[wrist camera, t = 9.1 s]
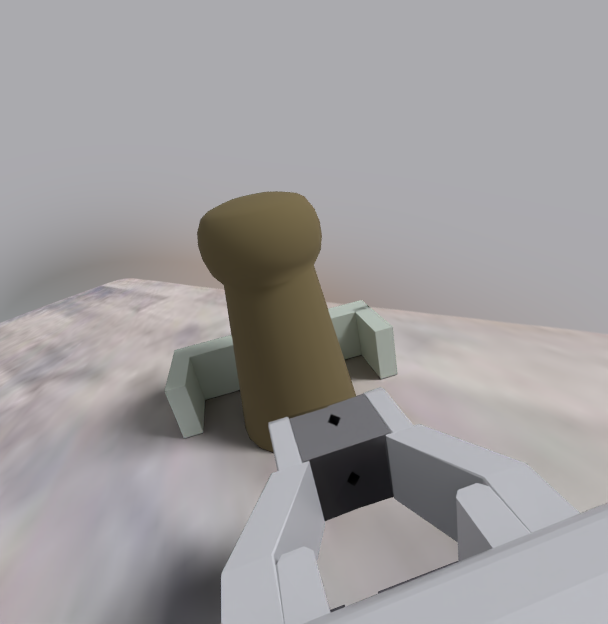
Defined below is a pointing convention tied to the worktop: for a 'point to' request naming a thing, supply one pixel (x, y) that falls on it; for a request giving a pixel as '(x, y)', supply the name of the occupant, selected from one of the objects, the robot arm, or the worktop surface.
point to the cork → (275, 307)
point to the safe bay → (223, 373)
